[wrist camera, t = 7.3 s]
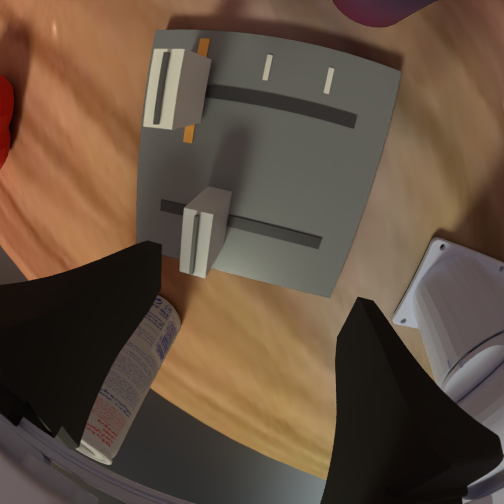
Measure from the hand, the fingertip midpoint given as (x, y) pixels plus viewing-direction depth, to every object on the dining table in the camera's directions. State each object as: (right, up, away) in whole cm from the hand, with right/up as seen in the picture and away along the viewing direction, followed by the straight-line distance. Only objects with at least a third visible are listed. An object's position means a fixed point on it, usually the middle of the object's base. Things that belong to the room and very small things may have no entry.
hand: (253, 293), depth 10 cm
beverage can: (-9, -4, +16) cm, 19 cm away
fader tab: (-3, +11, +5) cm, 12 cm away
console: (0, +7, +8) cm, 11 cm away
